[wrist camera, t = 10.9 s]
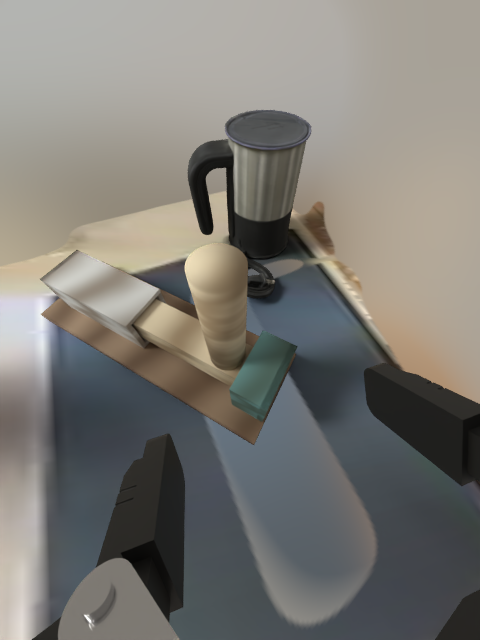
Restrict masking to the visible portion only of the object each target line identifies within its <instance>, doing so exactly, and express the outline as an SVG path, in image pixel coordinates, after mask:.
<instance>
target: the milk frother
mask: <svg viewBox="0 0 480 640" xmlns="http://www.w3.org/2000/svg"><path fill="white" fill-rule="evenodd" d="M225 132H226V134H227V136H228V139H226V140H218V141H210V142H207V143H204V144H203V145H201V146H199V147H198V148H197V149H196V150H195V152H194V153H193V154H192V156H191V158H190V160H189V165H188V181H189V186H190V190H191V195H192V199H193V203H194V207H195V211H196V215H197V219H198V223H199V227H200V230H201V232H202V233H203V234H205V235H210V234H211V233H212V232H213V219H212V213H211V208H210V202H209V196H208V191H207V186H206V176H207V174H208V173H209V172H210V171H211V170H213V169H216V168H226V177H227V209H228V229H229V241H230V244H231V245H232V246H234V247H236V248H238V249H239V250H240V251H242V252H243V254H244V255H245V256H246V257H250V258H255V259H258V258H259V259H263V258H269V257H273V256H275V255H277V254H279V253H280V252H282V251H283V250H284V249H285V247H286V246H287V243H288V228H289V223H290V217H291V212H292V208H293V202H294V197H295V193H296V188H297V183H298V178H299V173H300V168H301V164H302V159H303V154H304V149H305V144H306V140H307V139H308V138H309V136H310V134H311V126H310V124H309V123H308V122H306V121H305V120H304V119H302V118H301V117H299V116H296V115H294V114H290V113H287V112H282V111H275V110H256V111H249V112H245V113H241V114H238V115H236V116H234V117H232V118H231V119H229V121H227V123H226V124H225ZM247 261H248V267H250V268H252V269H254V270H256V271H257V272H259V273H260V275H252V276H248V279H247V297H251V298H265V297H267V296H269V295H270V294H271V293H272V292H273V290H274V287H275V281H274V279H273V276H272V274H271V273H270V271H269V270H268V269H267V268H265V267H264V266H262V265H261V264H259V263H257V262H255V261H253V260H250V259H247Z"/></svg>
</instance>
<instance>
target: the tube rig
mask: <svg viewBox="0 0 480 640" xmlns="http://www.w3.org/2000/svg"><path fill="white" fill-rule="evenodd" d="M40 280H41V281H42V282H43V283H45V284H46V285H47V286H48V287H49V288H50V289H51V290H52V291H53V292H54V293H55V294H56V295H58V296H59V297H60V298H59V299H58V300H57V301H56V302H54V303H53V304H52V305H51V306H50V307H49V308H48V309H46V310H45V311H44V312H43V313H42V314H41V315H42V316H44V317H45V318H46V319H48V320H49V321H50V322H52V323H54V324H55V325H57V326H59V327H60V328H62V329H64V330H65V331H67V332H68V333H70V334H72V335H73V336H75V337H77V338H78V339H80V340H82V341H83V342H85V343H87V344H88V345H90V346H91V347H93V348H95V349H96V350H98V351H100V352H101V353H103V354H105V355H106V356H108V357H110V358H111V359H113V360H115V361H116V362H118V363H119V364H121V365H123V366H124V367H126V368H128V369H129V370H131V371H133V372H134V373H136V374H138V375H139V376H141V377H142V378H144V379H146V380H147V381H149V382H151V383H152V384H154V385H156V386H157V387H159V388H161V389H162V390H164V391H165V392H167V393H169V394H170V395H172V396H174V397H175V398H177V399H179V400H180V401H182V402H184V403H185V404H187V405H188V406H190V407H192V408H193V409H195V410H197V411H198V412H200V413H202V414H203V415H205V416H207V417H208V418H210V419H212V420H213V421H215V422H217V423H218V424H220V425H221V426H223V427H225V428H226V429H228V430H230V431H231V432H233V433H235V434H236V435H238V436H239V437H241V438H243V439H244V440H246V441H248V442H249V443H251V444H253V445H254V444H255V442H256V439H257V437H258V435H259V433H260V430H261V429H262V426H263V424H264V422H265V420H266V418H267V416H268V414H269V411H270V409H271V407H272V405H273V403H274V401H275V398H276V396H277V394H278V392H279V390H280V388H281V386H282V383H283V381H284V379H285V377H286V375H287V373H288V371H289V368H290V366H291V364H292V362H293V360H294V358H295V355H296V354H295V351H296V349H297V346H295V345H293V344H291V343H289V342H287V341H285V340H283V339H280V338H278V337H276V336H274V335H272V334H270V333H268V332H265V331H262V333H261V335H260V336H257V335H255V334H253V333H251V332H249V331H247V330H246V344H248V345H250V346H252V347H253V349H252V350H251V352H250V354H249V356H248V357H247V359H246V361H245V363H244V364H243V366H242V368H241V370H240V371H239V373H238V375H237V377H236V378H235V380H234V382H233V384H232V385H231V386H229V385H227V384H225V383H223V382H222V381H220V380H218V379H216V378H214V377H213V376H211V375H209V374H207V373H205V372H204V371H202V370H200V369H198V368H196V367H195V366H193V365H191V364H189V363H187V362H186V361H184V360H182V359H180V358H178V357H177V356H175V355H173V354H171V353H169V352H167V351H166V350H164V349H162V348H160V347H158V346H157V345H155V344H153V343H151V342H149V341H148V340H146V339H144V338H142V337H140V335H139V334H138V333H137V332H136V330H135V329H134V328H133V327H132V324H133V323H134V322H135V320H136V319H137V318H138V317H139V316H140V315H141V314H142V313H143V312H144V310H145V309H146V308H147V307H148V306H149V305H150V304H151V303H152V301H153V300H154V299H157V300H159V301H161V302H163V303H165V304H167V305H169V306H171V307H173V308H175V309H177V310H179V311H181V312H183V313H185V314H188V315H190V316H192V317H194V318H196V319H198V320H199V318H198V314H197V311H196V307H195V305H193V304H190V303H188V302H186V301H184V300H182V299H180V298H178V297H176V296H174V295H172V294H170V293H167V292H165V291H163V290H161V289H159V288H157V287H155V286H153V285H151V284H149V283H146V282H144V281H142V280H140V279H138V278H136V277H134V276H132V275H130V274H128V273H125V272H123V271H121V270H119V269H117V268H115V267H113V266H111V265H109V264H107V263H105V262H101V261H99V260H97V259H95V258H93V257H91V256H89V255H87V254H85V253H83V252H80V251H78V250H76V251H75V252H74V253H72V254H71V255H70V256H68V257H67V258H66V259H65V260H63V261H62V262H61V263H60V264H58V265H57V266H56V267H55V268H53V269H52V270H51V271H50V272H48V273H47V274H46V275H45V276H43V277H42V278H41V279H40Z"/></svg>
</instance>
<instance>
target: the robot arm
mask: <svg viewBox="0 0 480 640" xmlns="http://www.w3.org/2000/svg"><path fill="white" fill-rule="evenodd" d="M364 380H365V390H366V400H367V405H368V407H369V409H370V411H371V412H372V414H373V415H374V416H375V417H376V418H377V419H379V420H380V421H381V422H382V423H384V424H385V425H386V426H387V427H388V428H390V429H391V430H392V431H393V432H395V433H396V434H397V435H398V436H400V437H401V438H402V439H403V440H405V441H406V442H407V443H408V444H410V445H411V446H412V447H413V448H415V449H416V450H417V451H418V452H420V453H421V454H422V455H423V456H425V457H426V458H427V459H428V460H430V461H431V462H432V463H433V464H435V465H436V466H437V467H438V468H440V469H441V470H442V471H443V472H445V473H446V474H447V475H448V476H450V477H451V478H452V479H453V480H455V481H456V482H457V483H458V484H460V485H461V486H463V485H465V484H468V483H470V482H472V481H475V480H478V481H479V482H480V404H478V403H476V402H474V401H472V400H470V399H467V398H465V397H463V396H461V395H459V394H457V393H455V392H453V391H451V390H448V389H446V388H445V389H444V388H443V387H442V386H440V385H438V384H436V383H432V382H431V381H429V380H427V379H425V378H423V377H421V376H419V375H416V374H412V373H408V372H404V371H400V370H398V369H396V368H394V367H392V366H390V365H388V364H385V363H382V364H379V365H376V366H373V367H370V368H367V369H365V371H364ZM184 512H185V481H184V474H183V469H182V466H181V463H180V460H179V457H178V455H177V452H176V449H175V446H174V443H173V440H172V438H171V436H170V434H165V435H162V436H159V437H156V438H153V439H150V440H148V441H147V443H146V447H145V451H144V455H143V458H141V459H138V460H135V461H134V462H133V463H132V465H131V466H130V468H129V469H128V471H127V472H126V474H125V475H124V478H123V481H122V484H121V487H120V494H118V497H117V501H116V507H115V508H114V510H113V514H112V517H111V520H110V524H109V527H108V530H107V533H106V537H105V540H104V543H103V546H102V550H101V553H100V556H99V560H98V563H97V566H96V568H95V569H94V570H93V571H92V572H91V573H90V574H88V575H87V576H86V578H85V579H84V580H83V581H82V582H81V583H80V584H79V586H78V587H77V588H76V590H75V591H74V593H73V594H72V596H71V597H70V599H69V601H68V603H67V605H66V607H65V609H64V611H63V614H62V616H61V617H60V618H59V619H58V620H57V621H56V622H54V623H53V624H52V625H51V626H49V627H48V628H47V629H45V630H44V631H43V632H41V633H40V634H39V635H37V636H36V637H35V638H33V639H32V640H180V639H179V638H178V636H177V635H176V633H175V632H174V630H173V629H172V627H171V626H170V624H169V616H170V613H171V612H173V611H175V610H178V609H180V608H182V607H183V582H184ZM435 640H480V590H478V591H476V592H474V593H472V594H470V595H469V596H467V597H465V598H463V599H462V601H461V602H460V604H459V605H458V607H457V608H456V610H455V611H454V613H453V614H452V616H451V617H450V619H449V620H448V621H447V623H446V624H445V626H444V627H443V629H442V630H441V632H440V633H439V635H438V636H437V638H436V639H435Z"/></svg>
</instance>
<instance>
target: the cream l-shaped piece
mask: <svg viewBox="0 0 480 640" xmlns="http://www.w3.org/2000/svg"><path fill="white" fill-rule="evenodd" d="M185 273H186V277H187V280H188V283H189V287H190V290H191V294H192V297H193V300H194V304H195V307H196V311H197V314H198V318H199V320H198V319H196V318H194V317H192V316H190V315H188V314H185V313H183V312H181V311H179V310H177V309H175V308H173V307H171V306H169V305H167V304H165V303H163V302H161V301H159V300H157V299H154V300H153V301H152V303H151V304H150V305H149V306H148V307H147V308H146V309H145V310H144V312H143V313H142V314H141V315H140V316H139V317H138V318H137V319H136V320H135V322H134V323H133V324H132V327H133V328H134V329H135V330H136V332H137V333H138V334H139V335H140V337H142V338H144V339H146V340H148V341H149V342H151V343H153V344H155V345H157V346H158V347H160V348H162V349H164V350H166V351H167V352H169V353H171V354H173V355H175V356H177V357H178V358H180V359H182V360H184V361H186V362H187V363H189V364H191V365H193V366H195V367H196V368H198V369H200V370H202V371H204V372H205V373H207V374H209V375H211V376H213V377H214V378H216V379H218V380H220V381H222V382H223V383H225V384H227V385H229V386H231V385H232V384H233V382H234V380H235V378H236V377H237V375H238V373H239V371H240V370H241V368H242V366H243V364H244V363H245V361H246V359H247V357H248V356H249V354H250V352H251V350H252V349H253V347H252V346H250V345H248V344H246V314H247V279H248V261H247V258H246V256H245V255H244V254H243V252H242V251H240V250H239V249H238V248H236V247H234V246H232V245H229V244H223V243H213V244H208V245H204V246H202V247H199V248H198V249H196V250H195V251H193V252H192V253H191V254H190V255H189V257H188V258H187V260H186V262H185Z"/></svg>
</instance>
